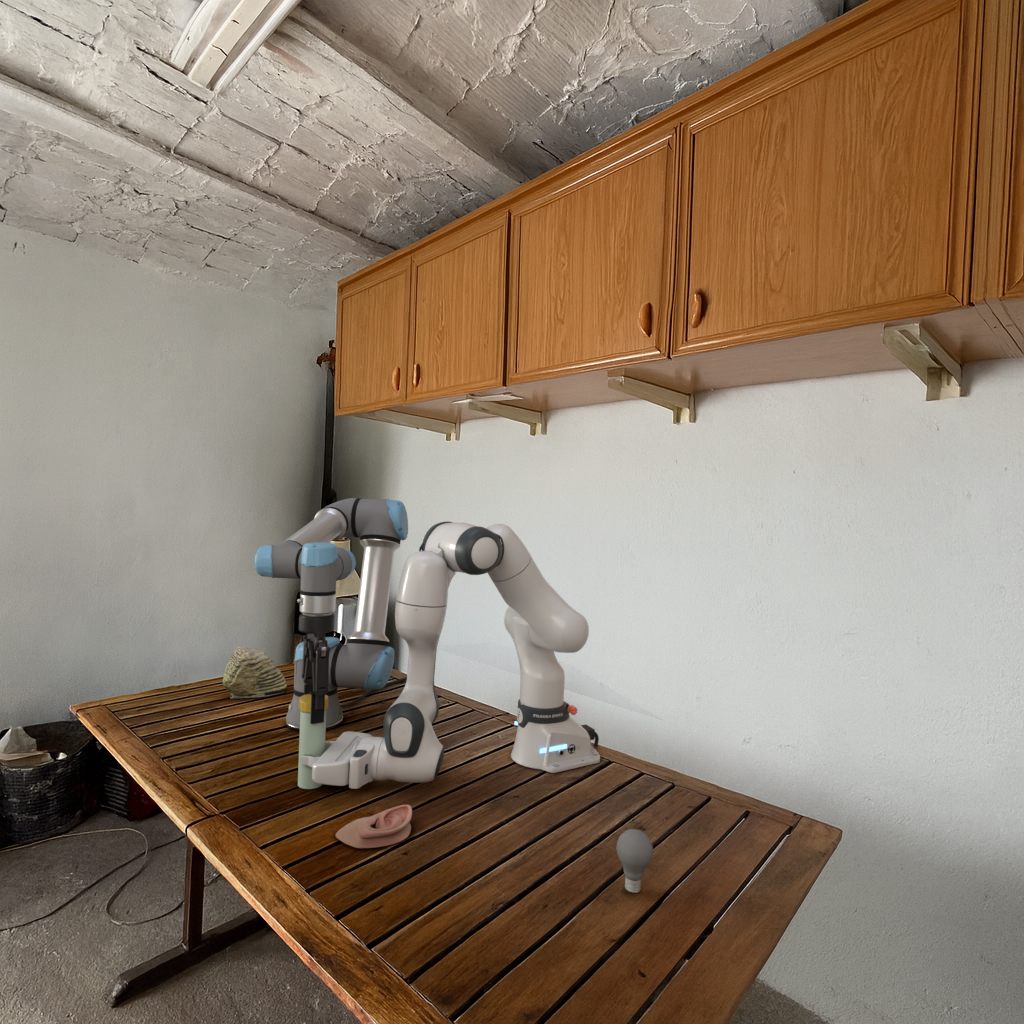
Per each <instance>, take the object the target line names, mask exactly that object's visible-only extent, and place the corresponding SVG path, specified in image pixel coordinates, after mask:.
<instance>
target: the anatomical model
mask: <svg viewBox="0 0 1024 1024" xmlns="http://www.w3.org/2000/svg"><path fill="white" fill-rule="evenodd" d="M412 817H413V808H412V806H411V805H410V804H401V805H396V806H393V807H390V808H388V809H385V810H382V811H380V812H378V813H375V814H373V815H370V816H364V817H361V818H357V819H355V820H352V821H350V822H349V823H346V824H345V825H344V826H342V827H341V828H340V829H338V830H337V832H335V838H336V839H337V840H338V841H341V842H342V843H344V844H345V845H348V846H349V847H352V848H355V849H372V848H373V849H374V848H381V847H388V846H391V845H395V844H397V843H400V842H402V841H404V840H405V839H408V837H409V836H410V834H411V831H412V824H411V821H412Z"/></svg>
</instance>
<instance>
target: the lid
mask: <svg viewBox="0 0 1024 1024" xmlns="http://www.w3.org/2000/svg"><path fill="white" fill-rule="evenodd" d="M328 703H329V699H328V696H327V695H325V706H324V710H326V709H327V708H328ZM299 709H300V710H301V711H304V712H311V695H310V694H306V695H303V696H301V697H300V699H299Z"/></svg>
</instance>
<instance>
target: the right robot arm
mask: <svg viewBox="0 0 1024 1024" xmlns="http://www.w3.org/2000/svg"><path fill="white" fill-rule="evenodd" d="M401 570H402V571H401V573H400V577H399V581H398V587H397V592H396V597H395V598H396V599H395V607H394V608H395V609H394V621H395V622H394V623H395V630H396V632H397V634H398V635H399V637H400V638H402V639H403V640H404V641H405V642H406V644H407V648H408V660H407V673H406V677H407V680H405V684H404V688H403V689H402V691H401V693H400V694H399V695H398V697H397V699H396V700H395V701H393V703H392V704H391V705H390V706H389V708H388V709H387V710H386V712H385V714H384V717H383V720H382V727H383V728H382V729H383V736H373V735H372V734H370V733H366V732H361V731H360V732H359V731H352V730H347V731H343V732H342V733H341V734H340V735H339V736H338V737H337V739H335V740H328V741H325V753H324V754H323V755H322V756H321V757H316V758H315V757H312V756H311V754H304V755H303V756H302V757H301V759H300V763H301V765H308V766H310V767H312V780H313V781H314V782H316V783H319V784H323V785H326V786H335V787H336V786H337V787H345V786H347V785H348V788H349V789H351V790H352V789H353V790H356V789H360V788H361V787H363V786H365V785H367V784H368V783H372V782H374V781H379V782H382V781H387V780H390V781H391V780H392V781H395V782H398V783H404V784H405V783H406V784H407V783H408V784H422V783H430V782H432V781H434V780H435V779H436V778H437V777H438V775H439V774H440V771H441V767H442V765H443V761H444V757H445V747H444V745H443V744H442V743H441V742H440V740H439V739H438V737H437V734H436V732H435V730H434V728H433V727H434V726H433V724H434V722H435V721H436V719H437V718H438V716H439V712H440V701H439V697H438V693H437V690H436V687H435V673H436V661H437V652H438V651H437V649H438V645H439V642H440V638H441V634H442V632H443V628H444V624H445V619H446V615H447V609H448V608H447V607H448V600H449V599H448V598H449V587H450V586H451V585H450V584H451V583H452V581H453V578H454V577H455V575H456V574H457V573H462V574H466V575H469V576H481V575H485V574H488V577H489V578H490V580H491V582H492V583H493V585H494V586H495V588H496V590H497V591H498V593H499V595H500V596H501V598H502V599H503V601H504V602H505V604H506V605H507V606H508V607H507V608H506V610H505V613H504V616H503V617H504V618H503V622H504V623H503V624H504V627H505V630H506V631H507V633H508V634H509V635H510V638H511V639H512V641H513V644H514V648H515V650H516V655H517V658H518V664H519V673H520V677H519V678H520V680H519V681H520V683H519V685H520V686H519V699H518V700H517V708H516V709H517V710H516V720H515V721H514V726H516V727H517V728H516V734H515V739H514V743H513V746H512V750H511V753H510V758H511V759H512V761H513V762H514V763H516V764H517V765H519V766H523V767H526V768H530V769H535V770H541V771H544V772H547V773H551V774H556V773H561V772H565V771H570V770H574V769H577V768H582V767H586V766H591V765H596V764H599V763H600V762H601V755H600V753H599V752H598V750H597V749H596V748H598V746H599V740H600V739H599V735H598V733H597V731H596V729H595V728H593V727H592V726H590V725H588V724H580V723H579V722H577V721H576V720H575V719H574V718H573V717H571V716H576V715H577V713H578V711H579V710H578V708H577V707H576V706H575V705H573V704H570V703H568V702H567V701H565V684H566V683H565V682H566V681H565V680H566V674H565V670H564V668H563V667H562V665H561V664H560V662H559V661H558V659H557V657H556V653H561V654H562V653H564V654H574V653H577V652H579V651H581V650H582V649H583V648H584V646H585V645H586V643H587V641H588V639H589V634H590V627H589V623H588V620H587V618H586V617H585V616H584V615H583V614H582V613H580V612H578V611H577V610H576V609H574V608H573V607H572V606H570V605H569V604H568V602H567V601H566V600H565V599H564V598H563V597H562V596H561V595H560V594H559V593H558V592H557V591H556V590H555V589H554V587H552V585H551V584H550V583H549V582H548V581H547V579H546V578H545V577H544V575H543V574H542V572H541V570H540V569H539V567H538V565H537V564H536V562H535V560H534V559H533V557H532V555H531V553H530V552H529V549H528V548H527V546H526V545H525V543H524V542H523V541H522V540H521V538H520V537H519V536H518V535H517V533H516V532H515V531H514V530H513V529H512V528H511V526H509V525H507V524H505V523H495V524H492V525H489V526H487V527H484V526H480V525H479V526H478V525H474V524H471V523H467V522H453V521H441V522H438V523H436V524H433V525H432V526H430V528H429V529H428V530H427V531H426V533H425V534H424V537H423V539H422V543H421V544H420V546H419V548H418V551H416V552H413V553H412V554H410V555H408V557H407V558H406V559H405V561H404V564H403V567H402V569H401ZM570 715H571V716H570ZM592 741H594V743H593V746H592Z"/></svg>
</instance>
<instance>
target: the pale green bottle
mask: <svg viewBox="0 0 1024 1024" xmlns="http://www.w3.org/2000/svg"><path fill="white" fill-rule="evenodd" d="M310 718H311V712H304V711H300V731H299V737H298V738H299V740H298V741H299V742H298V763H297V764H298V768H297V769H298V770H297V786H298V787H299V789H304V790H314V789H317V788H320V787H322V786H323V785H324V784H319V783H316V782H314V781H313V780H312V767H310V766H308V765H301V763H300V759H301V757H302V756H303V755H304V754H311V756H312V757H315V758H316V757H321V756H322V755H323V754H324V753H325V742H326V734H327V733H326V732H327V730H326V710H324V722H323V723H316V724H311V723H310Z"/></svg>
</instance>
